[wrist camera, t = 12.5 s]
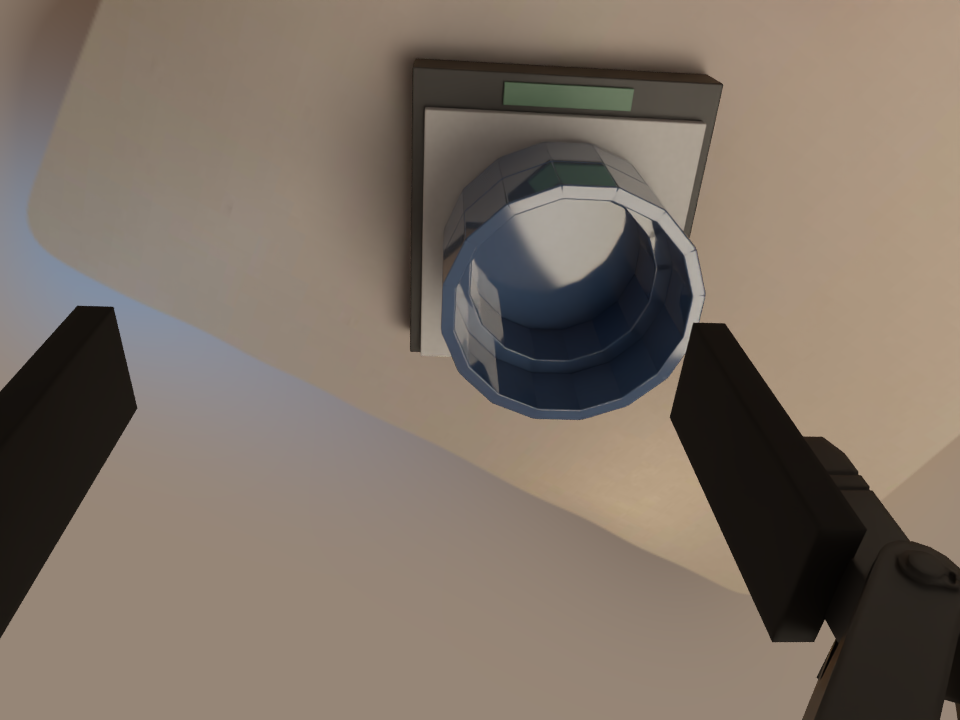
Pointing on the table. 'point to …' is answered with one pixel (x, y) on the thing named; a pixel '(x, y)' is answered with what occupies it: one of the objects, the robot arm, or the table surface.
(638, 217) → the blue bowl
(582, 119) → the scale
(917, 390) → the table surface
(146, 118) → the table surface
